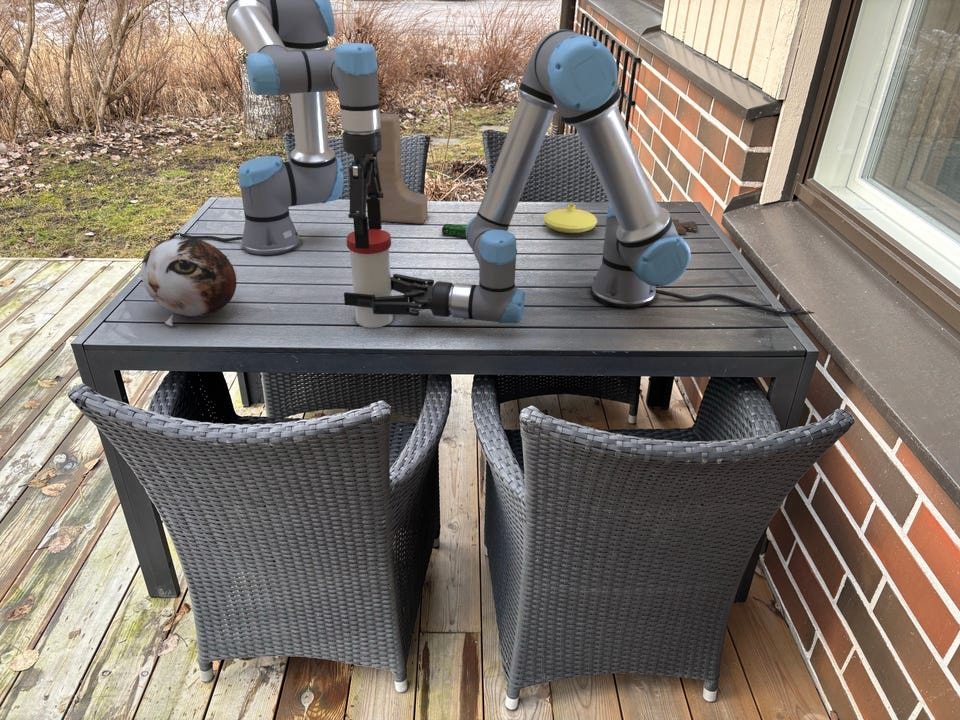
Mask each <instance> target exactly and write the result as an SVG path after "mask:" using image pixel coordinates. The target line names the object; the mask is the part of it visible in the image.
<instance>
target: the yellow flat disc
mask: <svg viewBox="0 0 960 720" xmlns="http://www.w3.org/2000/svg"><path fill="white" fill-rule="evenodd" d="M543 222H544V225H545V226H546V227H548V228H550V229H551V230H554V231H556V232H559V233H564V234H580V233H584V232H585V233H586V232H587V231H591V230H592V229H594V228H596V226H597V223H598V219H597V217H596V215H595V214H593V213H591V212H589V211H587V210H584V209H578V208H576V205H575V204H571V203H570V204H567V208H557V209H552V210H549V211H548V212H547V213H545V214H544V216H543Z"/></svg>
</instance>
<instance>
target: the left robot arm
mask: <svg viewBox="0 0 960 720" xmlns="http://www.w3.org/2000/svg"><path fill="white" fill-rule="evenodd" d="M224 11H225V14H224V17H225V23H226V25H227V27H228V30H229V32H230V33H231V35H232V36H233V37H234V38H235V39H236V40H237V41H239V42H240V43H241V44H242V46H243V48H244V50H245V52H246V54H247V56H246V59H245V67H246V75H247V80H248V84H249V88H250V91H251V92H252V93H253V94H254V95H256V96H270V97H273V96H281V95H290V103H291V113H292V123H293V124H292V125H293V135H294V144H295V145H294V146H295V147H294V149H292V151H291V152H290V154H289V155H290V160H289V161H284V160H283V158H282V157H281V156H279V155H263V156H259V157H255V158H251V159H248V160H247V161H245V162H243V163H242V164H241V165H240V166H239V168H238V170H237V174H238V186H239V188H240V194H241V195H240V196H241V201H242V207H243V212H244V213H243V215H244V219H245V220H244V226H243V228H244V229H243V235H242V236H234V237H220V236H216V235H191V234H189V235H188V234H186V233H181V232H174V233H172V234H171V235H170V236H169V237H168V239H170V238H176V237H177V236H176V235H179V234H180V236H179V237H188V238H195V239H199V240H216V241H218V242H219V241H220V242H233V241H234V242H235V241H241V246H242V249H243V251H244V252H246V253H248V254H252V255H255V256H256V255H257V256H275V255H281V254H282V255H283V254H285V253H289V252H291V251H293V250H296V249H297V248H298V247H299V246H300V244H301V241H300V235H299V233H298V231H297V229H296V227H295V225H294V223H293V220H292V218H291V216H290V207H296V206H297V207H299V206H305V205H307V206H308V205H314V204H315V205H316V204H326V203H329V202H334V201H337V200H338V199H339V198H341V196H342V193H343V190H344V182H345V181H344V179H345V178H344V177H345V175H344V167H343V162H342V160H341V158H340V157H338V156H336V152H335V151H334V150H333V149H332V148H331V147H330V145H329V144H330V143H329V129H328V117H327V115H328V113H327V98H326V92H338V99H339V110H340V111H338V113H337V117H338V118H340V122H341V129H342V130H343V132H342V133H341V137H342V138H341V139H342V148H343V152H345V153H346V154H350V155H352V157H353V161H352V162H351V165H349V166H348V173H349V213H348V219H353V232H354V233H355V245H356V248H361V249H369V248H370V245H369V231H368V229H379V230H383V228H382V227H383V226H382V221H381V211H380V199H378V198H383V193H381V191H382V188H381V182H380V175H379V168H378V161H377V152H379V151H380V150H381V149H382V143H381V132H380V131H379V129H380V128H381V122H380V113H381V110H380V98H379V97H380V96H379V95H380V94H379V75H378V74H379V73H378V68H379V64H378V61H377V60H378V59H377V53H376V48H375V46H373V45H372V44H370V43H364V42H347V43H346V42H345V43H340V44H338V45H337V46H336V47H335V46H334V47H330V48H329V49H327V48H328V47H329V38H331V37H333V36H335V33H336V30H335V29H336V22H335V16H334V11H333V6H332V3H331V0H228V2H227V3H226V6H225V10H224Z"/></svg>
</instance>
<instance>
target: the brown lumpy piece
mask: <svg viewBox="0 0 960 720" xmlns="http://www.w3.org/2000/svg"><path fill="white" fill-rule="evenodd" d="M672 221H673V223H674V226H675V228H676V231H677V233H678V234H682V235H683V234H685V233H687V231H689V232H694V233H696V232H697V231H698V229H697V228H698V227H697V223H696V221H692V220H691V221H686V222H685V221H684V222H680V219H673V218H672ZM689 228H691V229H689ZM694 229H697V230H694Z"/></svg>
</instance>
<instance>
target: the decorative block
mask: <svg viewBox="0 0 960 720" xmlns="http://www.w3.org/2000/svg"><path fill="white" fill-rule="evenodd" d="M380 122H381V128H380V129H379V131H380V132H381V143H382V149H381V150H380V151H379V152H377V161H378V168H379V175H380V182H381V188H382V191H381V193H383V198H378V199H380V211H381V222H388V223H403V224H418V225H420V224H421V225H422V224H424V222H425V220H426V219H427V217H428V213H429V212H428V196H427V194H425V193H420V192H416V191H412V190H411V189H410V188H408V187H407V185H406V183H405V180H404V178H403V171H402V167H403V166H402V146H401V123H400V115H399V114H398V113H383V112H382V113H381V112H380Z"/></svg>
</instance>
